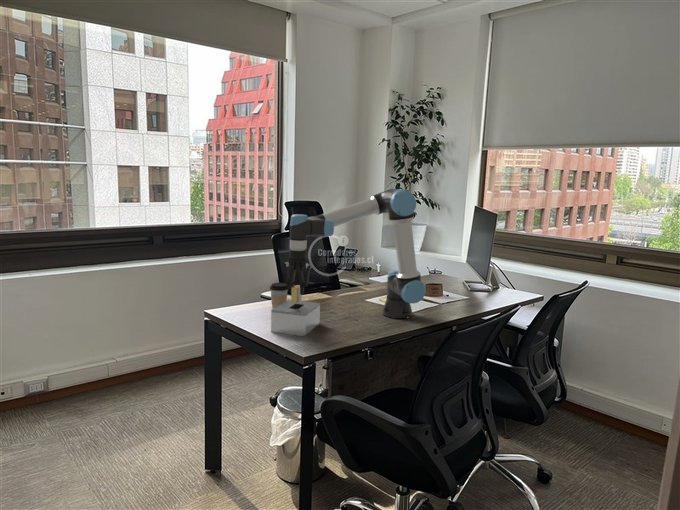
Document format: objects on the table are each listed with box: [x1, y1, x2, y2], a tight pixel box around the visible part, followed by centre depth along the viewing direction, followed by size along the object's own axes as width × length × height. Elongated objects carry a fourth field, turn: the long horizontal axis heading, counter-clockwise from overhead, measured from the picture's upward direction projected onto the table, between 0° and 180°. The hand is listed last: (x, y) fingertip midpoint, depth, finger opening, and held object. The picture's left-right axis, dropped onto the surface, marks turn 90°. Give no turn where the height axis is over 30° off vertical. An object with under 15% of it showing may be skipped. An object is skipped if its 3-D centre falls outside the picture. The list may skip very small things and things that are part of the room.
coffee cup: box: [269, 282, 290, 310], centre depth 245 cm, size 9×9×15 cm
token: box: [290, 284, 300, 303], centre depth 223 cm, size 2×6×7 cm, turn 164°
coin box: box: [270, 299, 321, 337], centre depth 224 cm, size 16×20×10 cm
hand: (296, 300), depth 223 cm, fingers closed on token, 2 cm apart
